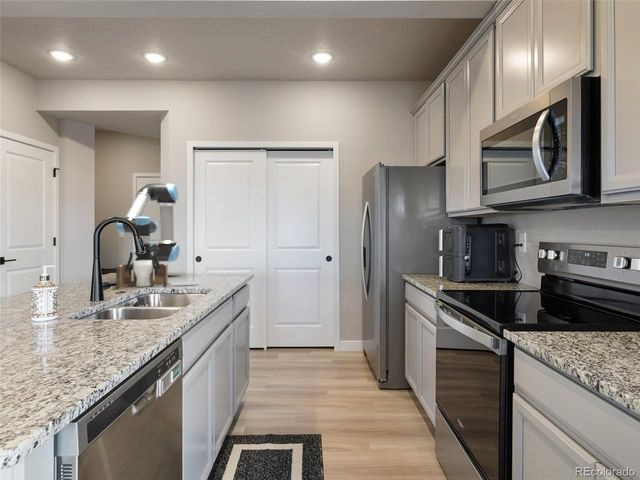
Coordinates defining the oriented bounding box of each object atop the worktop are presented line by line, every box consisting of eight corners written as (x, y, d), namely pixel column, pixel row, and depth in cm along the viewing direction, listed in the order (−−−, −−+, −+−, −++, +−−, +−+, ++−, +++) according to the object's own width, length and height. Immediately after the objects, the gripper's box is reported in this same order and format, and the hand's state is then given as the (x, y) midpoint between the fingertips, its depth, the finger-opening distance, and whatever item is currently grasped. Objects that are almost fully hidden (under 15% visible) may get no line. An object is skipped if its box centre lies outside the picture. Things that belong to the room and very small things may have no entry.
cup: (148, 287, 214) (147, 261, 214) (129, 287, 214) (129, 260, 214) (156, 284, 225) (156, 259, 224) (139, 284, 225) (138, 259, 225)
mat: (172, 283, 231) (172, 282, 231) (197, 282, 236) (197, 281, 236) (171, 286, 217) (171, 285, 217) (198, 285, 222) (198, 284, 222)
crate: (121, 284, 224) (121, 263, 223) (167, 282, 232) (167, 262, 232) (116, 288, 208) (116, 266, 207) (166, 286, 216) (166, 264, 216)
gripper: (119, 243, 212) (120, 282, 212) (164, 243, 219) (164, 280, 220) (121, 243, 219) (122, 280, 219) (164, 242, 226) (165, 279, 227)
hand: (143, 280), depth 220 cm, fingers open, 11 cm apart
